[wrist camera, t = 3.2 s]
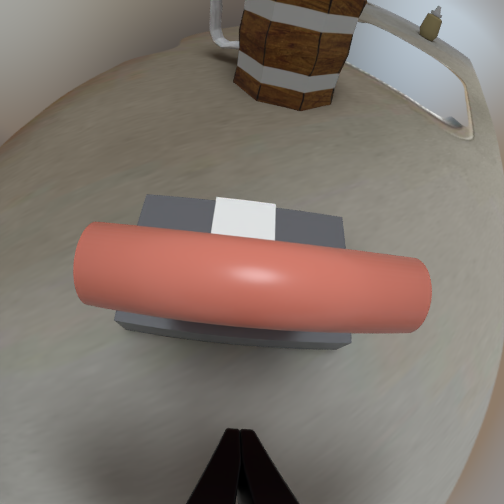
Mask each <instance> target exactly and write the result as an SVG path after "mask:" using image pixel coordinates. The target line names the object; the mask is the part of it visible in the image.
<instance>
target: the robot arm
mask: <svg viewBox="0 0 504 504" xmlns="http://www.w3.org/2000/svg"><path fill="white" fill-rule="evenodd" d="M236 496H237V499H238V504H299V502H298V501H297V499H296V498H295V496H294V495H293V493H292V492H291V490H290V489H289V487H288V486H287V484H286V483H285V481H284V479H283V478H282V476H281V475H280V473H279V472H278V470H277V468H276V467H275V465H274V463H273V462H272V460H271V459H270V457H269V455H268V454H267V452H266V450H265V449H264V447H263V445H262V443H261V442H260V440H259V438H258V437H257V435H256V433H255V432H254V431H253V430H251V429H241V430H239V429H233V428H227V429H226V430H225V432H224V434H223V436H222V438H221V440H220V442H219V444H218V446H217V448H216V450H215V451H214V453H213V455H212V457H211V459H210V461H209V463H208V465H207V467H206V468H205V470H204V472H203V474H202V476H201V478H200V480H199V481H198V483H197V485H196V487H195V489H194V490H193V492H192V494H191V496H190V498H189V499H188V501H187V503H186V504H235V503H236Z"/></svg>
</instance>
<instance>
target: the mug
mask: <svg viewBox="0 0 504 504" xmlns="http://www.w3.org/2000/svg"><path fill="white" fill-rule="evenodd" d="M366 3H367V0H245V6H244V11H243V16H242V20H241V24H240V28H239V41H228V40H227V39H225V38H224V37H223V34H222V30H221V18H222V0H210V33H211V36H212V39H213V41H214V43H216V44H217V45H218V46H220V47H221V48H230V49H239V55H238V63H237V68H236V72H235V76H234V80H233V82H234V83H235V84H237V85H238V86H239V87H240V88H241V89H243V90H244V91H245V92H246V93H248V94H249V95H250V96H251V97H252V98H254V99H255V100H256V101H259V102H264V103H268V104H273V105H277V106H282V107H286V108H290V109H294V110H298V111H304V110H308V109H312V108H317V107H321V106H326V105H331V102H332V97H333V93H334V88H335V85H336V82H337V80H338V77H339V74H340V72H341V70H342V67H343V65H344V63H345V61H346V59H347V57H348V54H349V50H350V45H351V41H352V37H353V33H354V30H355V27H356V24H357V22H358V19H359V16H360V15H361V13H362V11H363V9H364V7H365V5H366Z"/></svg>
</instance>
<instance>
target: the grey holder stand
mask: <svg viewBox="0 0 504 504" xmlns="http://www.w3.org/2000/svg"><path fill="white" fill-rule="evenodd" d="M137 226H146V227H156V228H166V229H175V230H185V231H194V232H204V233H213V234H222V235H231V236H240V237H249V238H258V239H266V240H275V241H283V242H292V243H300V244H309V245H317V246H325V247H333V248H341V249H346V247H345V238H344V229H343V221H342V217H337V216H331V215H324V214H317V213H311V212H304V211H297V210H289V209H282V208H276V204H271V203H263V202H255V201H247V200H238V199H229V198H220V197H217V198H216V201H215V200H205V199H195V198H184V197H173V196H161V195H149V194H147V195H146V198H145V201H144V205H143V208H142V211H141V214H140V217H139V221H138V224H137ZM114 321H116V322H117V323H118V324H120V325H121V326H122V327H123V328H125V329H126V330H132V331H137V332H143V333H149V334H155V335H162V336H168V337H175V338H183V339H190V340H198V341H207V342H216V343H226V344H236V345H248V346H261V347H277V348H297V349H338V348H341V347H343V346H345V345H348V344H350V343H351V333H325V332H302V331H285V330H270V329H257V328H245V327H234V326H224V325H215V324H206V323H198V322H189V321H182V320H174V319H167V318H160V317H153V316H147V315H141V314H135V313H129V312H123V311H117V310H116V314H115V319H114Z"/></svg>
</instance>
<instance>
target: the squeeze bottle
mask: <svg viewBox="0 0 504 504" xmlns="http://www.w3.org/2000/svg"><path fill="white" fill-rule="evenodd" d="M440 11H441V7H440V6H438V7H437V8H436V10H435V11H433V10H432V11H431V13H432V14H429V13H428V14H427V16H426V18H425V19H424V21H423V23H422V24H421V26H420V35H421V36H423V37H424V38H426V39H428V40H430V41H433V40H434V39H435V38H436V37H437V36H438V33H439V29H440V26H441V23H442V21H441V19H440V18H441V17H442V15H440Z"/></svg>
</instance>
